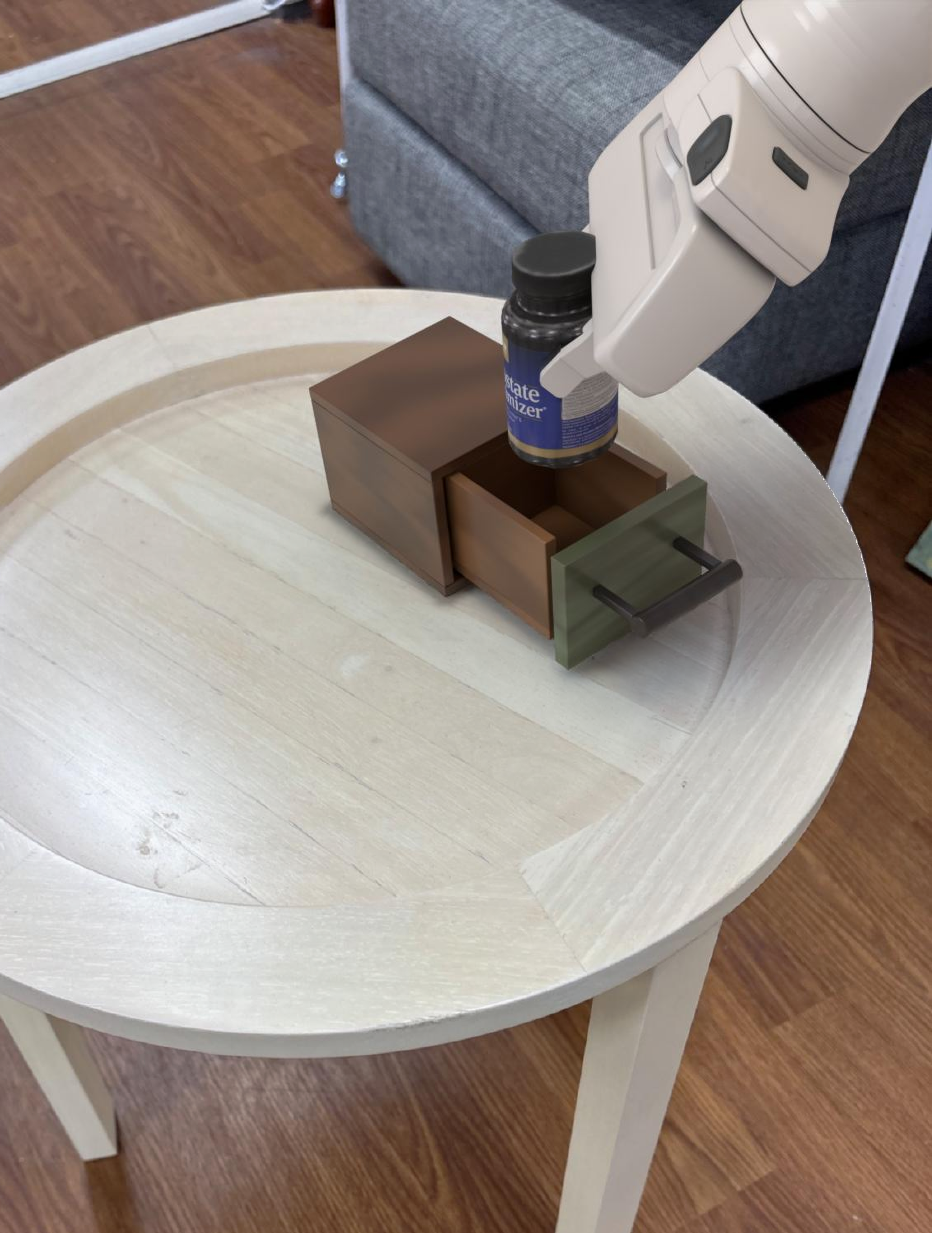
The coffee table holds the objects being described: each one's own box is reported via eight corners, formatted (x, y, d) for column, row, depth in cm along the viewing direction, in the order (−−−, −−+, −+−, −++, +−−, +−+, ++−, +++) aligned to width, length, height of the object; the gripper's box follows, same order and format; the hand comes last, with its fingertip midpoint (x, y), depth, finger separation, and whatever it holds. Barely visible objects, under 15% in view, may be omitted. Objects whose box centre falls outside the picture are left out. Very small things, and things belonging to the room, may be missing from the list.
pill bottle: (489, 434, 75) (474, 250, 67) (582, 397, 76) (578, 209, 68) (543, 486, 71) (534, 296, 63) (640, 445, 72) (644, 253, 64)
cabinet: (585, 517, 87) (582, 389, 80) (446, 597, 84) (430, 472, 77) (461, 437, 95) (449, 315, 88) (331, 508, 93) (308, 387, 85)
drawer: (758, 626, 76) (771, 518, 70) (622, 712, 74) (623, 607, 68) (566, 502, 87) (563, 399, 81) (441, 574, 84) (428, 472, 78)
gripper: (693, 1, 65) (509, 217, 75) (726, 189, 53) (499, 421, 62) (778, 84, 68) (589, 282, 77) (830, 282, 55) (596, 492, 64)
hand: (549, 346), depth 69 cm, fingers closed on pill bottle, 6 cm apart
